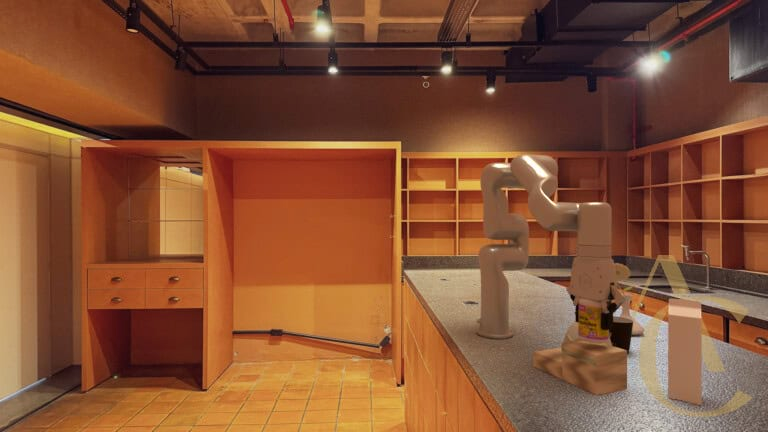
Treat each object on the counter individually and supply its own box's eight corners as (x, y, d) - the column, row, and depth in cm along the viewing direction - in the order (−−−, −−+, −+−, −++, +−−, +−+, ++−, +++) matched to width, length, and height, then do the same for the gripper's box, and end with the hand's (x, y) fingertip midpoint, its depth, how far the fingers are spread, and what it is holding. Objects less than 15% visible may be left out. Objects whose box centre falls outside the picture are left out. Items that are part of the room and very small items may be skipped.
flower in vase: (650, 334, 145) (650, 264, 145) (635, 339, 139) (635, 265, 139) (612, 326, 156) (612, 261, 156) (597, 330, 149) (597, 262, 150)
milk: (669, 389, 96) (668, 296, 97) (701, 396, 93) (700, 299, 93) (668, 398, 91) (667, 300, 92) (702, 405, 88) (701, 303, 88)
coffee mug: (638, 357, 119) (638, 323, 120) (606, 355, 121) (606, 321, 121) (623, 345, 131) (623, 314, 131) (594, 344, 132) (594, 313, 133)
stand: (532, 366, 111) (533, 333, 111) (561, 361, 115) (561, 329, 115) (595, 395, 93) (595, 355, 93) (627, 388, 96) (627, 350, 97)
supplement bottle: (572, 338, 101) (572, 286, 101) (590, 335, 104) (590, 284, 104) (596, 345, 95) (596, 290, 95) (615, 342, 98) (615, 289, 98)
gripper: (555, 250, 106) (554, 318, 106) (615, 255, 90) (614, 336, 90) (576, 249, 109) (576, 316, 109) (638, 255, 93) (638, 333, 93)
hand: (593, 324), depth 100 cm, fingers closed on supplement bottle, 6 cm apart
